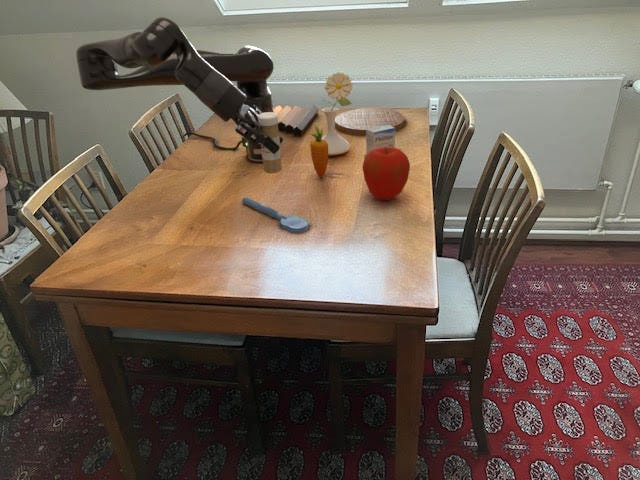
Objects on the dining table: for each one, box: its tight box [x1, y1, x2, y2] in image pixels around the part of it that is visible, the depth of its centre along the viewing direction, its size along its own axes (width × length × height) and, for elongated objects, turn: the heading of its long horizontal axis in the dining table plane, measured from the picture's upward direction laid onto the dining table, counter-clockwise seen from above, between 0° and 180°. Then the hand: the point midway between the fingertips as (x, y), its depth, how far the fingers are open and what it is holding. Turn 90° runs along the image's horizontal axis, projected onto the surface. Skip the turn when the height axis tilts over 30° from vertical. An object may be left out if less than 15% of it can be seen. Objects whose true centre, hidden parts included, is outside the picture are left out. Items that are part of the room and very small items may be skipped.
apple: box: [361, 147, 411, 201], centre depth 134 cm, size 12×12×14 cm
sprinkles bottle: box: [258, 112, 283, 174], centre depth 121 cm, size 5×5×14 cm
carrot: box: [309, 125, 329, 179], centre depth 147 cm, size 5×5×15 cm
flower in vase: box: [322, 71, 354, 156], centre depth 161 cm, size 13×11×25 cm
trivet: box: [335, 107, 405, 136], centre depth 190 cm, size 25×25×2 cm
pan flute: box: [273, 104, 319, 137], centre depth 194 cm, size 25×3×25 cm
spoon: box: [241, 196, 309, 234], centre depth 132 cm, size 24×5×2 cm, turn 45°
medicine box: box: [365, 125, 396, 156], centre depth 161 cm, size 8×4×9 cm, turn 117°
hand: (278, 146), depth 121 cm, fingers closed on sprinkles bottle, 4 cm apart
